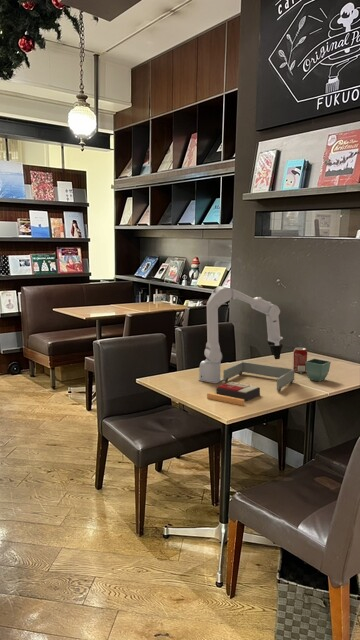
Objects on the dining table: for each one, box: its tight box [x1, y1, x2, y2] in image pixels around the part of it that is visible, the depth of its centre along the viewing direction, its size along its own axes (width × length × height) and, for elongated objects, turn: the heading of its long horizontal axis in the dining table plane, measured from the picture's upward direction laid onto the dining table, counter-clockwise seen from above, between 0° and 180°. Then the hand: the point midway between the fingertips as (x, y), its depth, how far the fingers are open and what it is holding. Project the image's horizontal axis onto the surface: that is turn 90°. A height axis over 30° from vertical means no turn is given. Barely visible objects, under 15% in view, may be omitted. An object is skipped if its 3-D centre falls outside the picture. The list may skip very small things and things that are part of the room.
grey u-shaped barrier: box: [222, 361, 296, 392], centre depth 213 cm, size 27×20×6 cm
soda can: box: [292, 346, 308, 374], centre depth 233 cm, size 7×7×12 cm
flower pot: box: [305, 358, 331, 382], centre depth 218 cm, size 9×9×9 cm
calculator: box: [215, 381, 261, 402], centre depth 195 cm, size 11×4×15 cm
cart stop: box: [206, 392, 245, 406], centre depth 186 cm, size 16×2×2 cm, turn 57°
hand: (275, 357), depth 220 cm, fingers open, 7 cm apart
